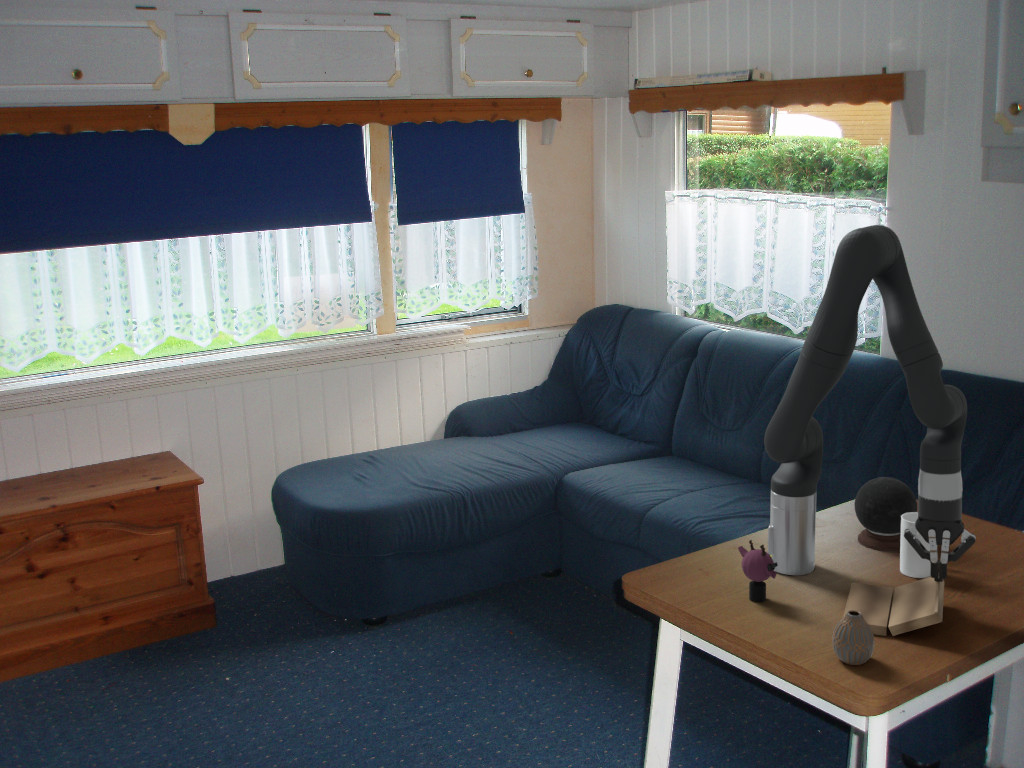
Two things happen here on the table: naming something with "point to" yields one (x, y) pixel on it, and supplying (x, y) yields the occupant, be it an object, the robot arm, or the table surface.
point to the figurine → (757, 570)
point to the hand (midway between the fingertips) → (938, 579)
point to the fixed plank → (871, 605)
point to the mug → (912, 551)
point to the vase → (853, 639)
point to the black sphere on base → (883, 512)
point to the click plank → (916, 605)
